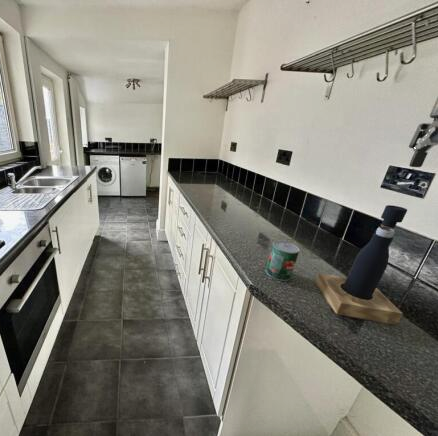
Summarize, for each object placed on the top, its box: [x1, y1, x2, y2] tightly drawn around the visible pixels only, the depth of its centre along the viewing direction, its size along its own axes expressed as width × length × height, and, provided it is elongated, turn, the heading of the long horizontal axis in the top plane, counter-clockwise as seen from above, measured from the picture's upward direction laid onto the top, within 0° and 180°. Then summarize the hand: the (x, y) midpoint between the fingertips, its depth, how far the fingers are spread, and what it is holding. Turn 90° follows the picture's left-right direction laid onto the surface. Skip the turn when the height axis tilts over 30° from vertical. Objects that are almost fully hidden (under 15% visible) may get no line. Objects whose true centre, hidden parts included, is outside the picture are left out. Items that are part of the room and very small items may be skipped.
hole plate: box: [315, 273, 404, 326], centre depth 68 cm, size 14×14×4 cm
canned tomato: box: [265, 240, 301, 282], centre depth 79 cm, size 8×8×11 cm
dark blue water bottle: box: [342, 204, 408, 300], centre depth 63 cm, size 6×6×30 cm
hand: (429, 169), depth 56 cm, fingers open, 8 cm apart
